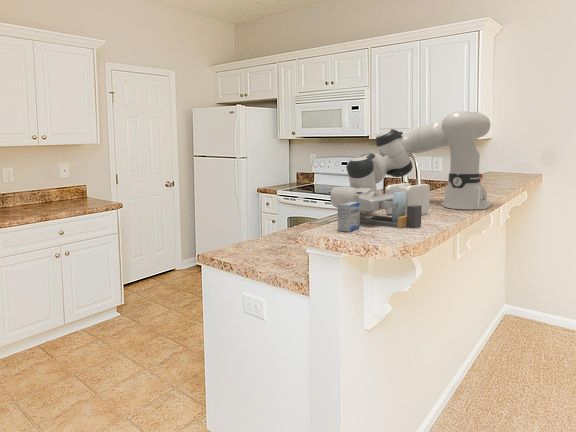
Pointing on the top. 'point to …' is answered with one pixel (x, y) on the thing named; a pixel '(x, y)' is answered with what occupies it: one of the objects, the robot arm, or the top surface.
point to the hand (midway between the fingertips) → (401, 204)
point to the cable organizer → (411, 195)
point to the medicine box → (348, 216)
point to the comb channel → (399, 218)
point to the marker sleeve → (399, 205)
